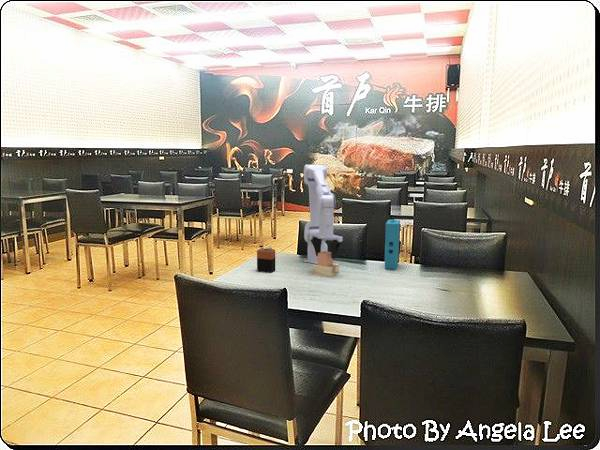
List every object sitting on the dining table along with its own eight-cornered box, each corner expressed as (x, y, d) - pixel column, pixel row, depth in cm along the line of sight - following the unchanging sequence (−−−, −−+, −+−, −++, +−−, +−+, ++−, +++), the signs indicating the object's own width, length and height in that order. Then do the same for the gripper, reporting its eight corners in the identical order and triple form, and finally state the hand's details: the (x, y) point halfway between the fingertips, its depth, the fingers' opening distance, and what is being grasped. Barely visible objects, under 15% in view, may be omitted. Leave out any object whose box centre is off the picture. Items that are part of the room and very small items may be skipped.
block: (387, 263, 200) (388, 219, 196) (398, 264, 198) (400, 220, 195) (383, 270, 188) (385, 223, 185) (395, 271, 187) (397, 224, 184)
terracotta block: (324, 262, 186) (324, 251, 185) (333, 264, 183) (333, 252, 182) (317, 264, 182) (317, 252, 181) (326, 266, 179) (326, 254, 178)
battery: (271, 273, 183) (271, 249, 182) (256, 271, 186) (256, 248, 184) (275, 270, 187) (275, 247, 186) (261, 268, 190) (261, 246, 188)
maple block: (321, 270, 188) (322, 261, 188) (338, 273, 184) (339, 264, 184) (312, 275, 182) (312, 265, 181) (330, 277, 178) (330, 268, 177)
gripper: (306, 223, 181) (305, 256, 183) (336, 227, 172) (335, 261, 174) (315, 221, 186) (315, 253, 188) (345, 225, 178) (344, 258, 180)
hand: (325, 257), depth 182 cm, fingers open, 7 cm apart
